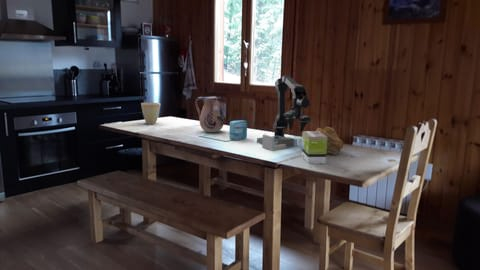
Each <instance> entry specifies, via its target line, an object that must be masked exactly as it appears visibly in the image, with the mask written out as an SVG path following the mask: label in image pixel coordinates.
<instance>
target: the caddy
mask: <svg viewBox="0 0 480 270" xmlns="http://www.w3.org/2000/svg"><path fill="white" fill-rule="evenodd" d="M280 144H286V148H292V147H295V146H298V138H294V137H288V136H286V138H279V139H278V145H280Z"/></svg>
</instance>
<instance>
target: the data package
mask: <svg viewBox="0 0 480 270" xmlns="http://www.w3.org/2000/svg"><path fill="white" fill-rule="evenodd" d="M247 136H248V121H247V120H243V119H240V120H238V119H237V120H232V121H230V122H229V137H228V138H229V139H230V140H233V141H239V140H243V139H247V138H248V137H247Z"/></svg>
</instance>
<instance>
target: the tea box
mask: <svg viewBox="0 0 480 270" xmlns="http://www.w3.org/2000/svg"><path fill="white" fill-rule="evenodd" d="M301 135H302V136H301V157H302V158H303V159H304V161H306V163H307V164H308V163H322V164H326V161H327V154H326V152H327V136H325V135H324V134H322V133H321V132H320V131H316V130H315V131H314V130H313V131H312V130H307V131H305V130H303V131H302V134H301Z"/></svg>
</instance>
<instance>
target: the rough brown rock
mask: <svg viewBox="0 0 480 270" xmlns="http://www.w3.org/2000/svg"><path fill="white" fill-rule="evenodd" d="M315 131H320V132H321V133H322V134H324V135H325V136H327V152H326V155H327V154H331V155H332V156H336V155H339V152H340V151H341V150H342V149H343V147H344V141H343V140H342V139H341V138H340V137H339V135H338V134H337V131H336V130H335V129H334V128H333V127H330V126H325V127H324V128H323V129H322V128H321V127H317V128H316V130H315Z"/></svg>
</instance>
